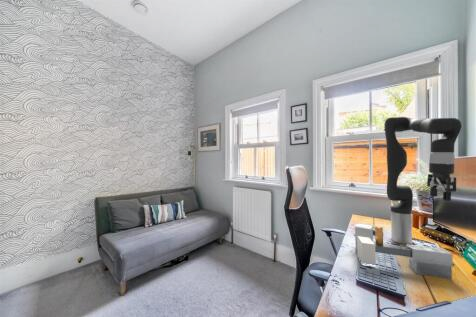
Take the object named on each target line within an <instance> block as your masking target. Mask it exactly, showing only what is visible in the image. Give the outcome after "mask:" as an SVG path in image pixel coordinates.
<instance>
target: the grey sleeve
mask: <svg viewBox="0 0 476 317" xmlns="http://www.w3.org/2000/svg"><path fill="white" fill-rule="evenodd" d="M405 247H409V248H410V249H411V250H412V257H408V267H409V268H410V269H411V270H412V271H413V272H414V273H415V274H417V275H422V276H427V277H432V278H433V277H434V278H441V279H446V280H453V270H452V268H453V267H454V265H453V264H454V262H453V260H454V259H453V258H454V257H453V256H454V255H453V253H452V252H450V251H448V250H446V249H445V248H441V247H432V246H425V245H417V244H405Z"/></svg>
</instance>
